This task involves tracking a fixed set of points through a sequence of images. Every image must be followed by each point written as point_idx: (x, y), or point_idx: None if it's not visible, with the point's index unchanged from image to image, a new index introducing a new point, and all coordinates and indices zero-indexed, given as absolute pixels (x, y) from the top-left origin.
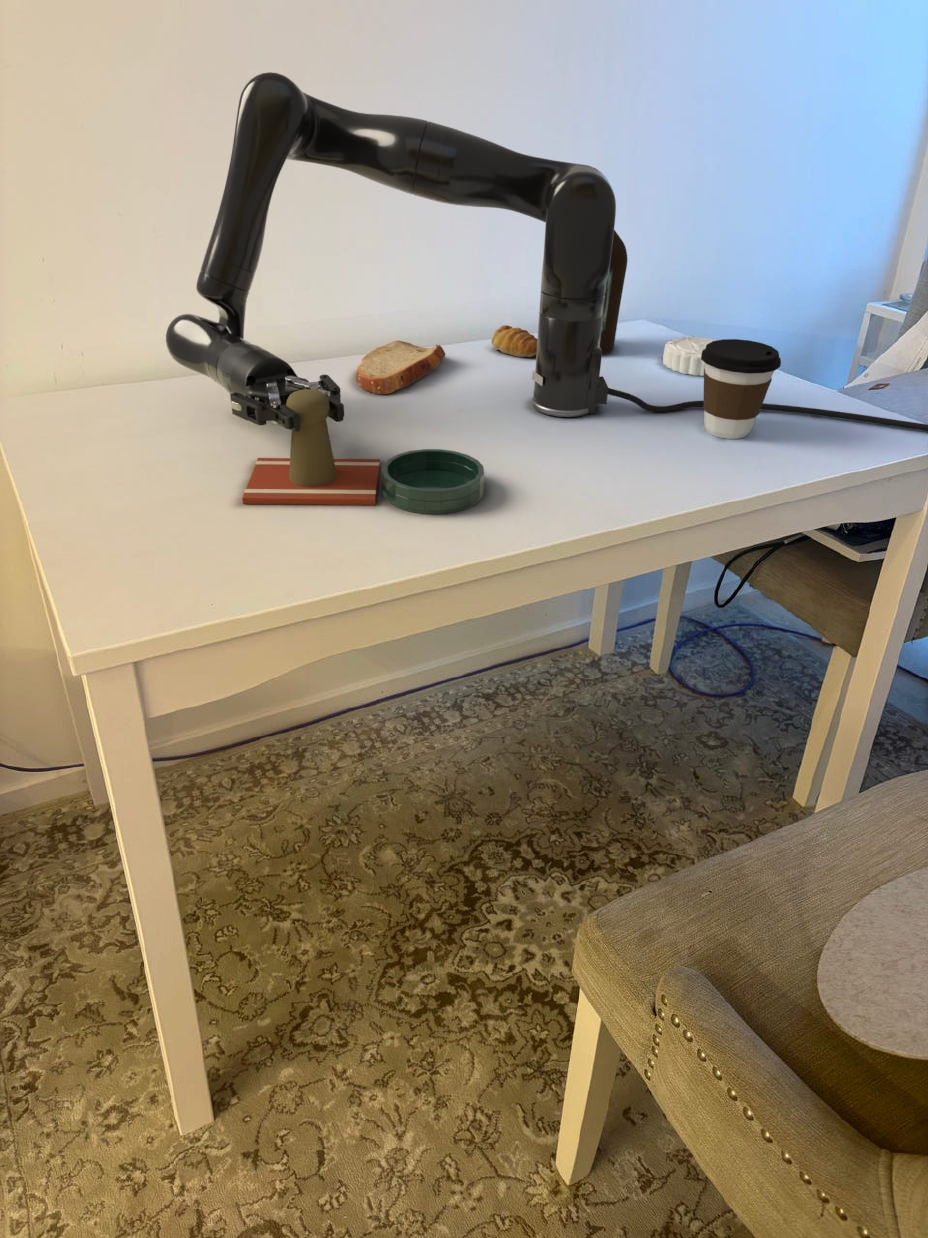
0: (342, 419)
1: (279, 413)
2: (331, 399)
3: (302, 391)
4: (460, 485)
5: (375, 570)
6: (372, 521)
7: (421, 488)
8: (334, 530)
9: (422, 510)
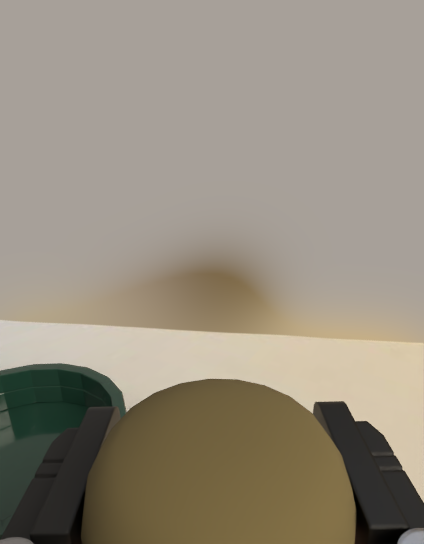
0: None
1: (409, 480)
2: (73, 466)
3: (233, 451)
4: (45, 368)
5: (275, 350)
6: None
7: (103, 384)
8: None
9: None
